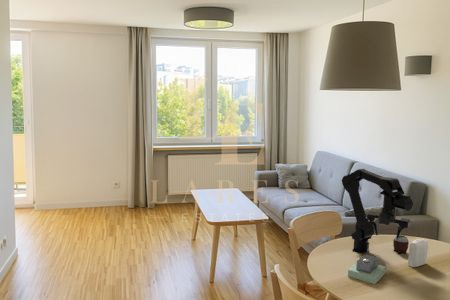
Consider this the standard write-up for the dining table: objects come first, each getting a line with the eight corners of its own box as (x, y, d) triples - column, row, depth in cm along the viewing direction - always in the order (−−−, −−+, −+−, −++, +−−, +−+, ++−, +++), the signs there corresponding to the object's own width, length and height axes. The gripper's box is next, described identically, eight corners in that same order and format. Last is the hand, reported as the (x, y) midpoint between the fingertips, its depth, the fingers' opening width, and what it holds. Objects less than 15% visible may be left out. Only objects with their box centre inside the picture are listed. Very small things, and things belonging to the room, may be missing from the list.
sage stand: (347, 276, 192) (348, 269, 191) (358, 265, 203) (359, 259, 202) (375, 284, 185) (375, 277, 184) (385, 272, 196) (385, 266, 195)
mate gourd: (406, 256, 216) (408, 226, 213) (389, 252, 220) (391, 223, 217) (408, 251, 222) (411, 222, 220) (392, 247, 226) (394, 219, 224)
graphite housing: (364, 262, 199) (365, 252, 198) (378, 266, 195) (378, 256, 195) (356, 269, 191) (356, 259, 191) (369, 273, 188) (370, 263, 187)
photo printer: (419, 260, 210) (421, 236, 208) (427, 263, 207) (430, 238, 205) (406, 265, 205) (408, 240, 203) (414, 268, 201) (417, 242, 199)
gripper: (363, 205, 203) (361, 237, 206) (405, 213, 192) (403, 246, 195) (371, 200, 212) (369, 231, 215) (412, 207, 201) (409, 240, 204)
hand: (387, 237), depth 207 cm, fingers open, 9 cm apart
